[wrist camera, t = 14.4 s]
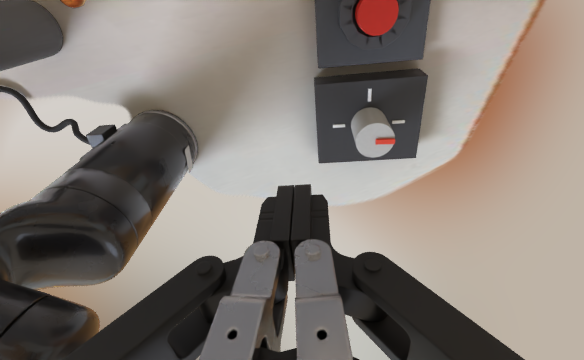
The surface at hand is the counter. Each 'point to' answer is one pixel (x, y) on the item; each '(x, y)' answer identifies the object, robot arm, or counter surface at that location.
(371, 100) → the panel
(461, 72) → the counter surface
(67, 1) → the reddish brown rounded piece
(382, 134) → the timer knob
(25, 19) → the bottle
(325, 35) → the power block
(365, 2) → the power button
